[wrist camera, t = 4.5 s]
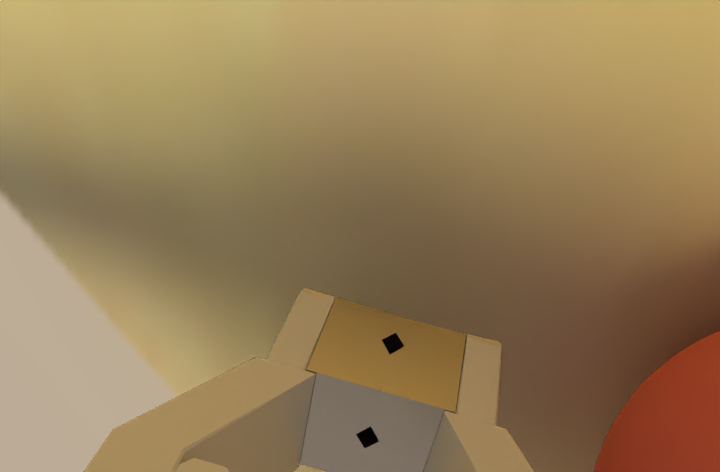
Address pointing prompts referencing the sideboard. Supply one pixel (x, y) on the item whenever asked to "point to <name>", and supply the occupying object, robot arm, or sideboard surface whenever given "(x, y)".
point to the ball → (671, 417)
